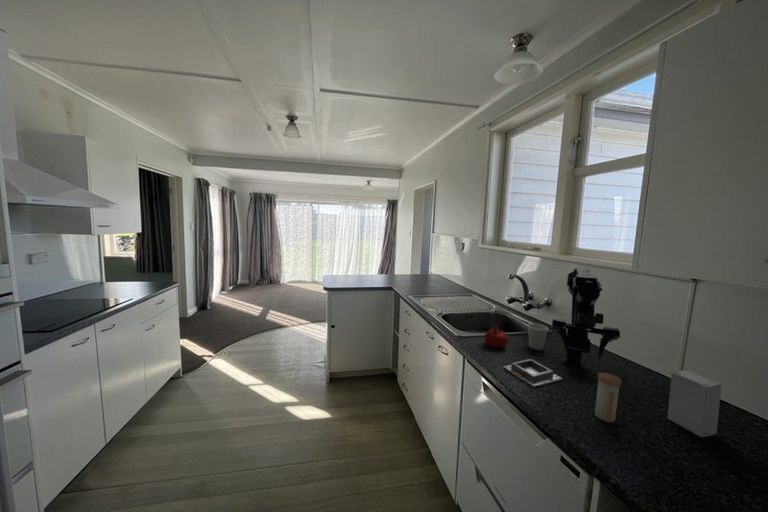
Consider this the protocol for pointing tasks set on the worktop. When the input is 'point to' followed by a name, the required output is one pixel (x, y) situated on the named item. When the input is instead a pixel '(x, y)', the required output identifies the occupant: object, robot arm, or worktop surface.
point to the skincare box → (694, 403)
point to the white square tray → (532, 372)
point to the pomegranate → (496, 338)
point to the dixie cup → (537, 336)
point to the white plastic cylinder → (607, 396)
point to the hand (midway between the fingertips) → (582, 354)
